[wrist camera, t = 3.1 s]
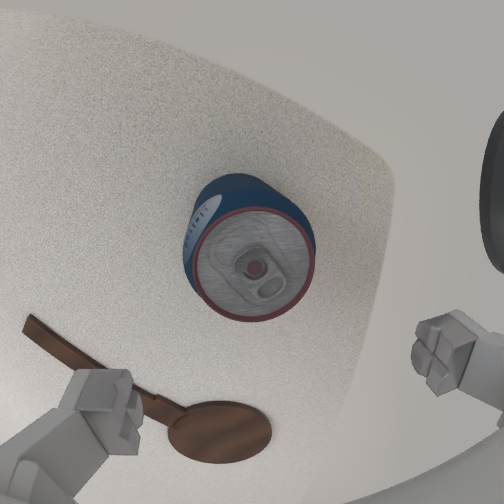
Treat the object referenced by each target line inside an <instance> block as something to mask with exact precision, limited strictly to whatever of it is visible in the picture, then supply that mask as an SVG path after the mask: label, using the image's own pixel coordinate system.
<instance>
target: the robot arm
mask: <svg viewBox="0 0 504 504" xmlns="http://www.w3.org/2000/svg"><path fill="white" fill-rule="evenodd" d="M415 334H416V336H417V338H418V339H417V340H416V342H415V343H414V345H413V346H412V351H411V360H412V365H413V367H414V369H415V370H416V372H417V373H418V374H419V375H422V376H424V377H426V384H427V385H428V386H429V387H430V389H431V390H432V391H433V392H434V394H435V395H436V396H437V397H438V396H440V395H443V394H445V393H447V392H450V391H452V390H454V389H456V388H458V390H460V391H463V392H465V393H466V394H468V395H471V396H472V397H475V398H476V399H479V400H481V401H483V402H485V403H487V404H489V405H491V406H493V407H495V408H497V409H499V410H501V411H503V413H502V415H501V416H500V418H499V420H498V422H497V426H498V427H499V428H500V429H498V430H497V431H495V432H494V433H492V434H491V435H490V436H488V437H486V438H485V439H483V440H482V441H480V442H479V443H477V444H475V445H474V446H472V447H471V448H469V449H467V450H466V451H464V452H462V453H461V454H459V455H457V456H455V457H453V458H452V459H450V460H448V461H446V462H444V463H442V464H440V465H439V466H437V467H435V468H433V469H430V470H428V471H426V472H424V473H422V474H420V475H418V476H416V477H414V478H411V479H409V480H407V481H405V482H402V483H400V484H397V485H395V486H393V487H390V488H388V489H385V490H382V491H380V492H377V493H374V494H372V495H369V496H366V497H363V498H360V499H357V500H354V501H351V502H347V503H344V504H504V335H502V334H499V333H495V332H492V333H489V332H488V331H486V330H485V329H484V328H483V327H482V326H480V325H479V324H478V323H476V322H475V321H474V320H473V319H471V318H470V317H469V316H467V315H466V314H465V313H464V312H462V311H460V310H454V311H451V312H448V313H445V314H444V315H440V316H437V317H434V318H431V319H427V320H424V321H421V322H419V324H418V326H417V328H416V332H415ZM133 381H134V380H133V378H132V376H131V373H130V371H129V370H127V369H78V370H76V371H75V372H74V374H73V376H72V378H71V380H70V382H69V384H68V386H67V388H66V390H65V393H64V395H63V397H62V399H61V401H60V404H59V406H58V408H57V409H56V408H52V409H51V410H50V411H48V412H47V413H45V414H44V415H43V416H41V417H40V418H39V419H37V420H36V421H34V422H33V423H32V424H30V425H29V426H28V427H26V428H25V429H23V430H22V431H21V432H19V433H18V434H16V435H15V436H14V437H12V438H11V439H9V440H8V441H7V442H5V443H4V444H2V445H1V446H0V504H78V503H77V502H76V501H75V500H74V499H73V498H74V496H75V495H76V494H77V493H78V492H79V491H80V490H81V488H82V487H83V486H84V485H85V484H86V483H87V481H88V480H89V479H90V478H91V477H92V476H93V474H94V473H95V472H96V471H97V470H98V469H99V467H100V466H101V465H102V464H103V463H104V462H105V460H106V459H107V458H108V457H109V456H108V455H138V450H139V443H140V435H139V433H138V431H137V429H138V428H139V427H140V426H141V425H142V424H143V417H144V414H143V404H142V400H141V397H140V395H139V392H137V391H136V390H135V389H133V388H132V385H133Z"/></svg>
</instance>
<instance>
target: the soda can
mask: <svg viewBox="0 0 504 504" xmlns="http://www.w3.org/2000/svg"><path fill="white" fill-rule="evenodd" d="M315 255H316V245H315V238H314V234H313V230H312V228H311V225H310V223H309V221H308V220H307V218H306V216H305V215H304V214H303V212H302V211H301V210H300V209H299V208H298V207H297V206H296V205H295V204H294V203H293V202H291V201H290V200H289V199H287V198H286V197H284V196H283V195H282V194H280V193H279V192H277V191H276V190H275V189H273V188H272V187H270V186H269V185H268V184H266V183H265V182H263V181H262V180H260V179H258V178H256V177H254V176H251V175H247V174H229V175H225V176H222V177H219V178H217V179H215V180H214V181H212V182H211V183H209V184H208V185H207V186H206V187H205V188H204V189H203V190H202V192H201V193H200V195H199V196H198V198H197V200H196V202H195V205H194V209H193V212H192V215H191V219H190V222H189V226H188V229H187V233H186V236H185V240H184V245H183V264H184V269H185V273H186V276H187V278H188V280H189V282H190V284H191V286H192V287H193V289H194V290H195V291H196V293H197V294H198V295H199V296H200V297H201V298H202V299H203V300H204V301H205V303H206V304H207V305H208V306H209V307H211V308H212V309H213V310H214V311H216V312H217V313H219V314H220V315H222V316H224V317H227V318H229V319H232V320H236V321H240V322H261V321H266V320H270V319H273V318H276V317H278V316H280V315H282V314H284V313H285V312H287V311H288V310H290V309H291V308H292V307H294V306H295V305H296V304H297V303H298V302H299V301H300V300H301V298H302V297H303V296H304V294H305V293H306V291H307V290H308V288H309V286H310V283H311V281H312V278H313V274H314V268H315Z"/></svg>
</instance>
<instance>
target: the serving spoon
mask: <svg viewBox="0 0 504 504" xmlns="http://www.w3.org/2000/svg"><path fill="white" fill-rule="evenodd" d="M22 333H24V334H25V335H26V336H27V337H29V338H30V339H31V340H32V341H34V342H35V343H36V344H38V345H39V346H40V347H42V348H43V349H44V350H46V351H47V352H48V353H50V354H51V355H52V356H54V357H55V358H57V359H58V360H59V361H61V362H62V363H64V364H65V365H67V366H68V367H70V368H71V369H72V370H74V371H76V370H78V369H107V368H105V367H104V366H102V365H101V364H99V363H97V362H96V361H94V360H93V359H91V358H90V357H88V356H87V355H85V354H84V353H82V352H81V351H79V350H78V349H76V348H75V347H74V346H72V345H71V344H69V343H68V342H67V341H65V340H64V339H62V338H61V337H60V336H58V335H57V334H56V333H54V332H53V331H52V330H50V329H49V328H48V327H46V326H45V325H44V324H42V323H41V322H40V321H39V320H37V319H36V318H35V317H34V316H32V315H31V314H30V315H29V316H28V317H27V320H26V323H25V325H24V328H23V331H22ZM132 388H133V389H135V390H136V391H137V392H139V395H140V397H141V400H142V404H143V414H144V415H146V416H148V417H150V418H152V419H154V420H156V421H158V422H160V423H162V424H164V425H166V426H168V438H169V441H170V443H171V445H172V446H173V447H174V448H175V449H176V450H177V451H178V452H179V453H181V454H182V455H184V456H186V457H188V458H190V459H193V460H196V461H200V462H205V463H213V464H225V463H234V462H239V461H242V460H245V459H248V458H251V457H253V456H255V455H256V454H258V453H260V452H261V451H262V450H263V449H264V448H265V447H266V446H267V445H268V444H269V442H270V440H271V436H272V430H271V425H270V423H269V420H268V419H267V418H266V417H265V416H264V415H263V414H262V413H261V412H260V411H258V410H256V409H254V408H252V407H250V406H247V405H244V404H240V403H235V402H225V401H216V402H206V403H200V404H196V405H193V406H190V407H188V408H184V407H182V406H180V405H178V404H176V403H174V402H172V401H170V400H168V399H166V398H164V397H162V396H160V395H158V394H157V395H156V396H153V395H152V394H150V393H148V392H146V391H144V390H142V389H141V388H139V387H137V386H135V385H134V384H133V385H132Z"/></svg>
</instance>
